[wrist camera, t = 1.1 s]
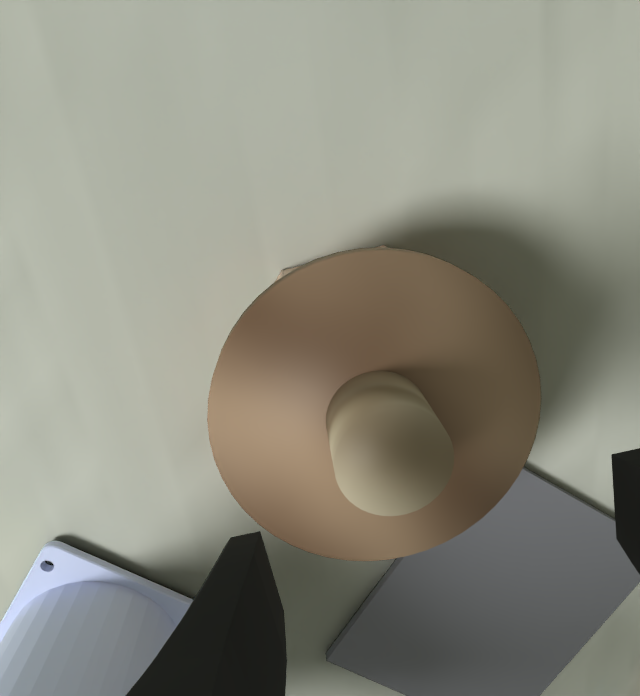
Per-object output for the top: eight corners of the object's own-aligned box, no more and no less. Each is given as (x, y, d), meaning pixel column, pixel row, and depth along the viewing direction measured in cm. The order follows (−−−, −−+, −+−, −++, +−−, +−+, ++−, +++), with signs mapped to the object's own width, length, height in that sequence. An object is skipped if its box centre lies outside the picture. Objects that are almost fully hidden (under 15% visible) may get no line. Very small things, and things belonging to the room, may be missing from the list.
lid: (413, 590, 21) (440, 673, 17) (152, 463, 19) (123, 529, 15) (594, 355, 19) (666, 397, 15) (321, 178, 16) (332, 180, 13)
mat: (499, 729, 28) (502, 737, 28) (325, 653, 26) (326, 660, 25) (661, 545, 25) (666, 551, 25) (482, 443, 23) (485, 447, 23)
